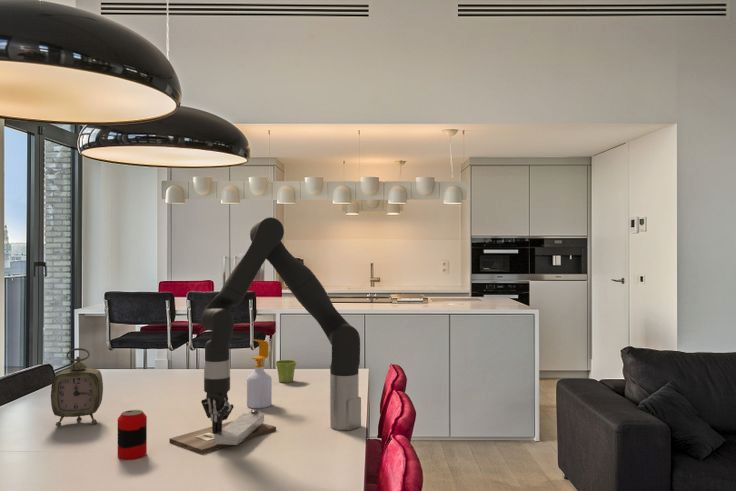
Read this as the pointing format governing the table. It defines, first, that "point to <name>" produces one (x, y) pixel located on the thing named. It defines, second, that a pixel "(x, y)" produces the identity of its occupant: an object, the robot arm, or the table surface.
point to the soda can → (132, 435)
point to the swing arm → (239, 428)
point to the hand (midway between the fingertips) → (217, 433)
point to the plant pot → (286, 370)
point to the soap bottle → (259, 381)
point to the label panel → (212, 438)
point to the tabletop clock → (76, 391)
